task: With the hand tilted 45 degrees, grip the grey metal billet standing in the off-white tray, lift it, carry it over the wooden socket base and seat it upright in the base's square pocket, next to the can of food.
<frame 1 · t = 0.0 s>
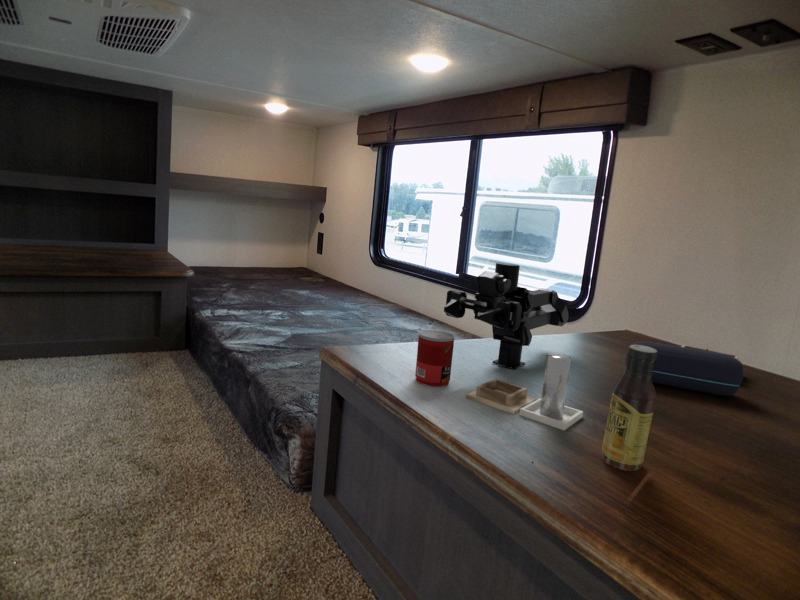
hand: (461, 313, 111), 17 cm above the table, tool horizontal, fingers open, 9 cm apart
tray: (550, 418, 99), on the table
billet: (551, 416, 99), point 1 cm above the table, touching tray
wooden socket base: (500, 402, 106), on the table
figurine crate: (703, 370, 141), on the table
sauce bottle: (621, 466, 82), on the table
canned food: (432, 381, 116), on the table
eagle figurine: (703, 370, 141), touching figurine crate
portable speaker: (677, 387, 126), on the table
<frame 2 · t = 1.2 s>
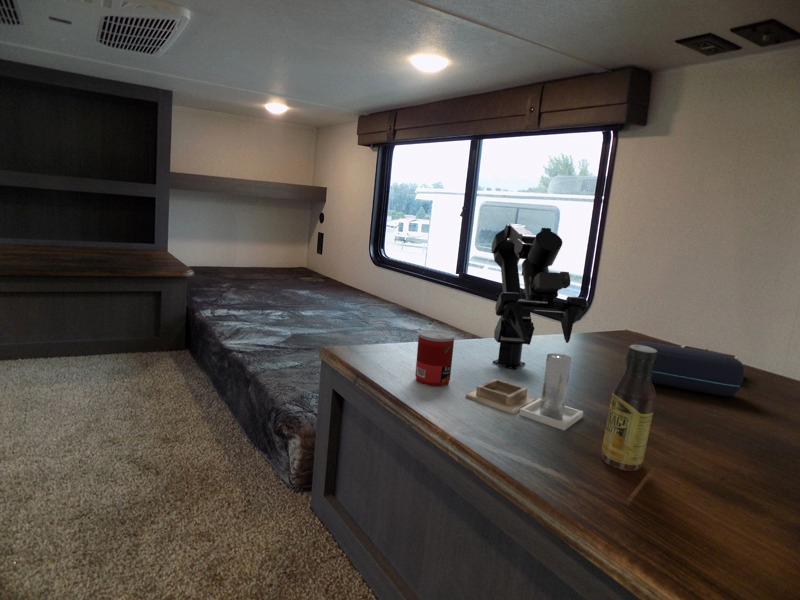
hand: (546, 340, 105), 14 cm above the table, tool tilted 45°, fingers open, 9 cm apart
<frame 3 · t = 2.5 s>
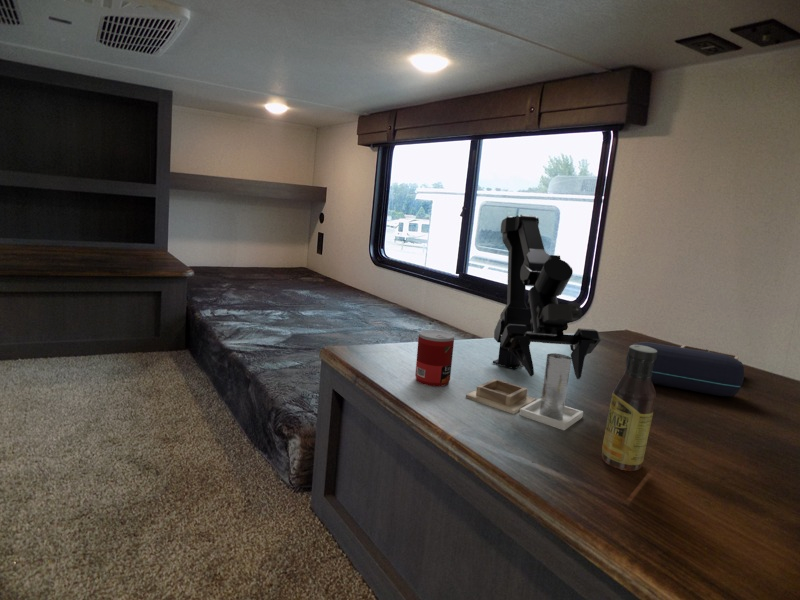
hand: (555, 376, 98), 8 cm above the table, tool tilted 45°, fingers open, 9 cm apart
eagle figurine: (703, 371, 141), on the table, touching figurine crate
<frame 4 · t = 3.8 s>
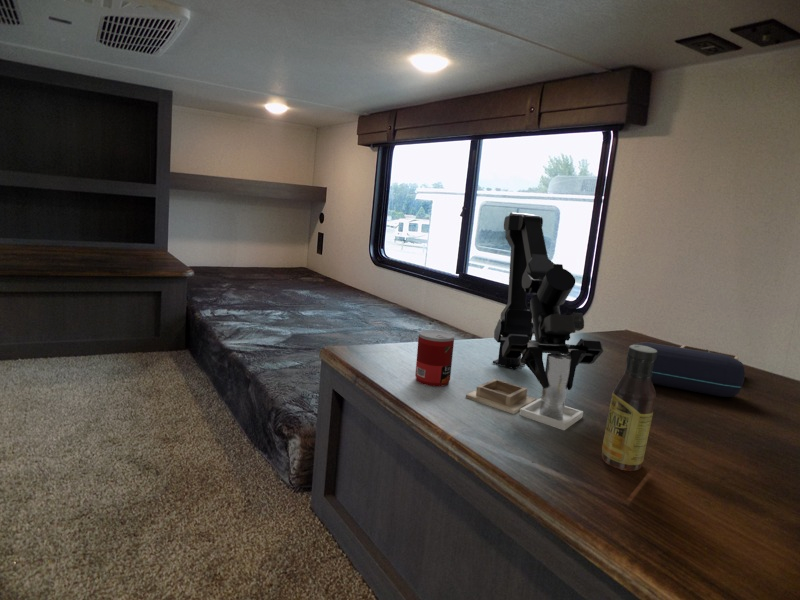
hand: (557, 388, 96), 7 cm above the table, tool tilted 45°, fingers closed on billet, 4 cm apart
billet: (551, 416, 99), point 1 cm above the table, touching gripper, tray
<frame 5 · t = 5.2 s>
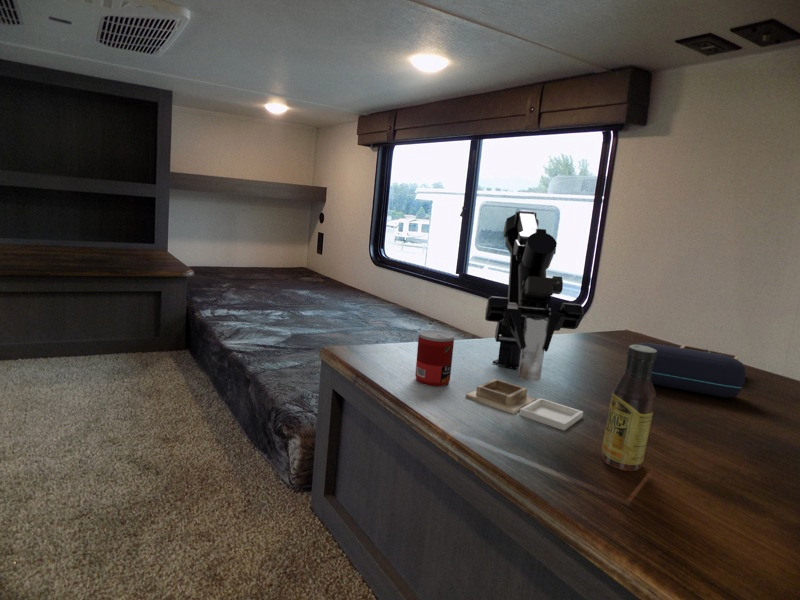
hand: (534, 349, 98), 13 cm above the table, tool tilted 45°, fingers closed on billet, 4 cm apart
billet: (529, 377, 101), point 7 cm above the table, touching gripper
when the fingers open (9 cm above the table, at t = 7.1 s): billet drops 1 cm, resting on wooden socket base.
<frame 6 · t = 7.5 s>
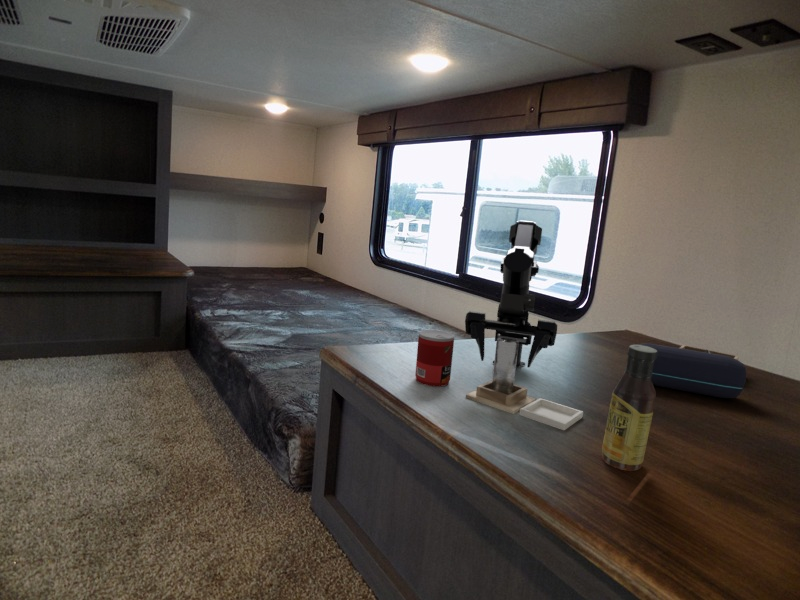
hand: (505, 363, 103), 9 cm above the table, tool tilted 45°, fingers open, 9 cm apart
billet: (501, 396, 106), point 1 cm above the table, touching wooden socket base
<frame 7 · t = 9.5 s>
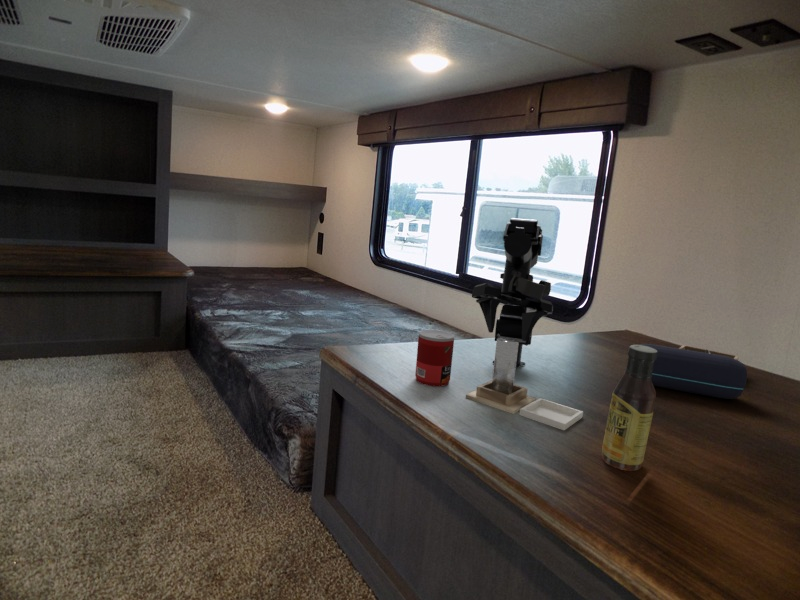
hand: (507, 336, 114), 11 cm above the table, tool tilted 20°, fingers open, 9 cm apart
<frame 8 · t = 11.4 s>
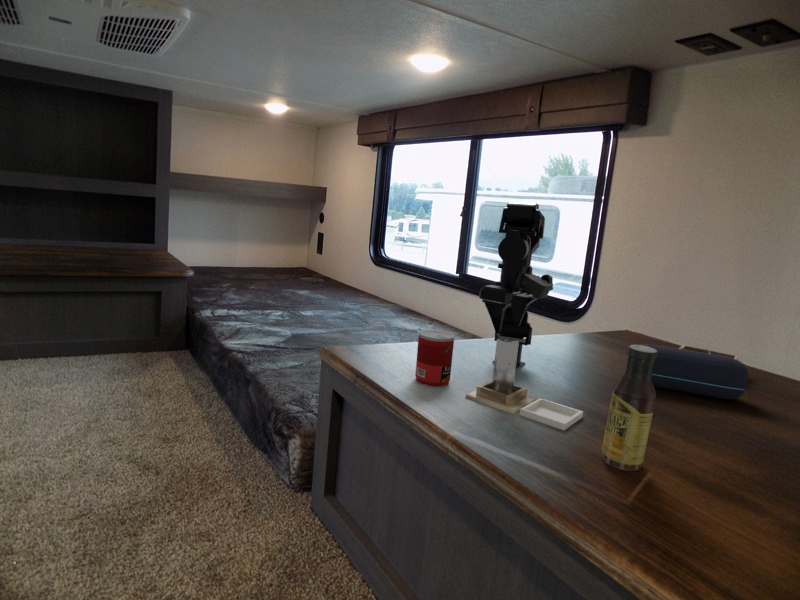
hand: (507, 328, 116), 13 cm above the table, tool pointing down, fingers open, 9 cm apart
at the end: billet 0.1 cm off-centre on the wooden socket base, point 1.2 cm above the wooden socket base's base; billet tilted 0°; the gripper is holding nothing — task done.
